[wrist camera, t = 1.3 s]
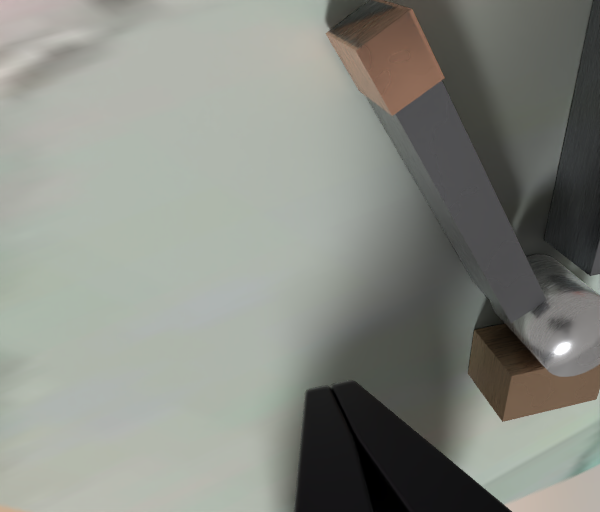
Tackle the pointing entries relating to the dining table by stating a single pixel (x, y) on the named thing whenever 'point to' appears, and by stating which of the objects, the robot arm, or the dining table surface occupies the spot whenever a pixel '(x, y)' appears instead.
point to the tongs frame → (556, 279)
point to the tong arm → (436, 148)
